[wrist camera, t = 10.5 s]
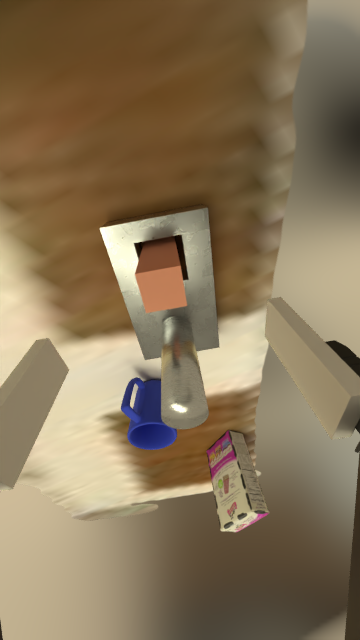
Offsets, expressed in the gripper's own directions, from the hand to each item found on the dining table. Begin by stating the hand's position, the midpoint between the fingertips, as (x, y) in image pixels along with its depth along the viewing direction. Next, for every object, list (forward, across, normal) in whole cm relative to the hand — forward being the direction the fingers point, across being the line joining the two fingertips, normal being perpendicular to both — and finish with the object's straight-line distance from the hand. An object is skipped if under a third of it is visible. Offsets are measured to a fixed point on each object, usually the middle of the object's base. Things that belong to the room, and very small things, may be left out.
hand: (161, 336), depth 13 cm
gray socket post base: (+19, 0, -6) cm, 20 cm away
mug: (+19, -8, -26) cm, 33 cm away
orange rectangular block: (+19, 0, -1) cm, 19 cm away
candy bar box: (+19, +6, -53) cm, 56 cm away
